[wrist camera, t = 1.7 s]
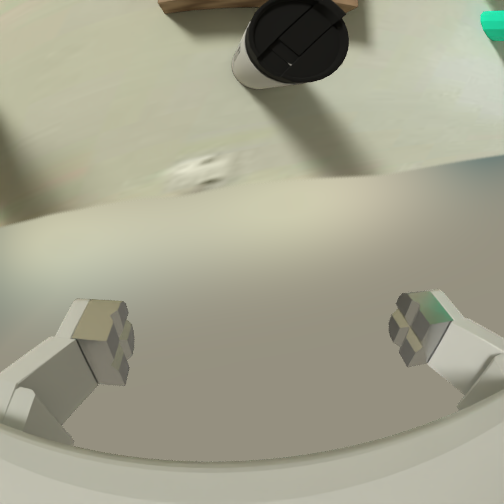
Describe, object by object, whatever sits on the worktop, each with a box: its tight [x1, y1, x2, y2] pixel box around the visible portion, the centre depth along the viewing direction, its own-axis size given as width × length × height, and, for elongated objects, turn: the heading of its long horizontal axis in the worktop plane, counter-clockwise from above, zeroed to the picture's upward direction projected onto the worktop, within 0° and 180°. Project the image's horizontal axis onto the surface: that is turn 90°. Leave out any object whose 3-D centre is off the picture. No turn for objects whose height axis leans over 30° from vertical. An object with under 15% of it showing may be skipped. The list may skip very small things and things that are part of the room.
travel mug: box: [232, 0, 349, 89], centre depth 22 cm, size 6×7×20 cm
